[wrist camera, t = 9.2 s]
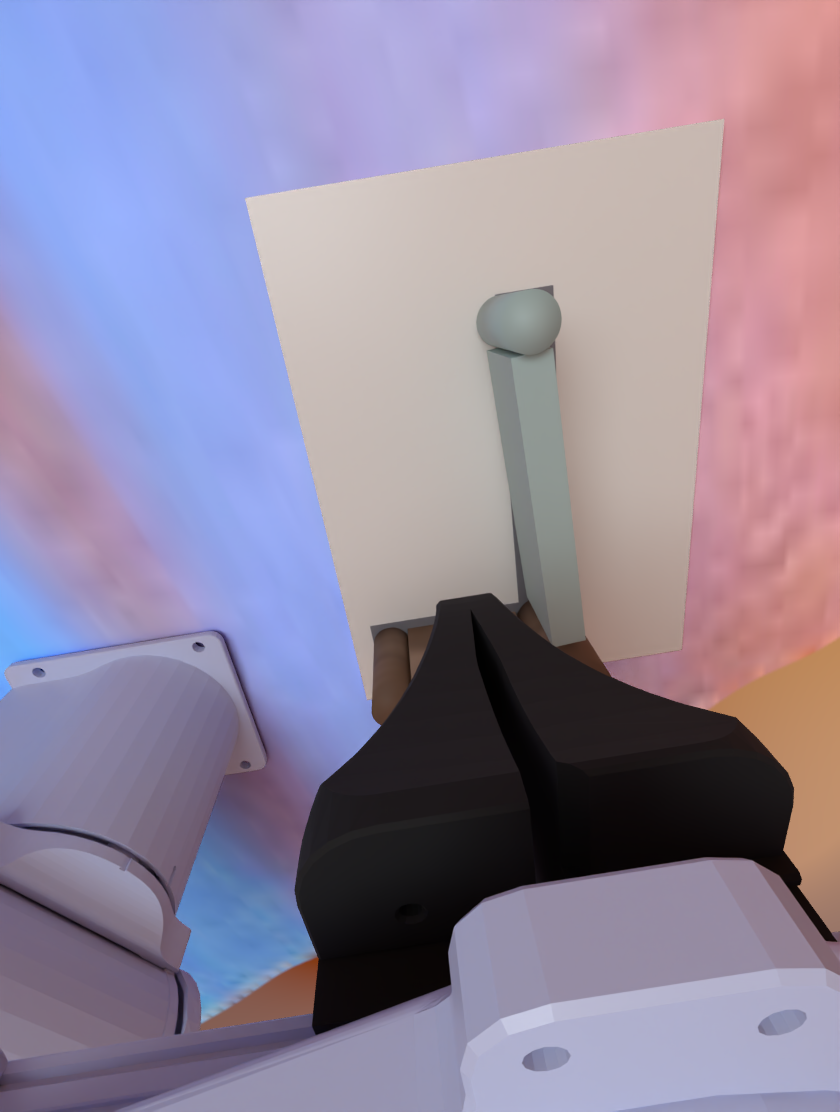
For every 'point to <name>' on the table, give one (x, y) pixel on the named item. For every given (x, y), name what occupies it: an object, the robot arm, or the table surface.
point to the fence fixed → (405, 652)
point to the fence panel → (535, 453)
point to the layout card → (465, 382)
